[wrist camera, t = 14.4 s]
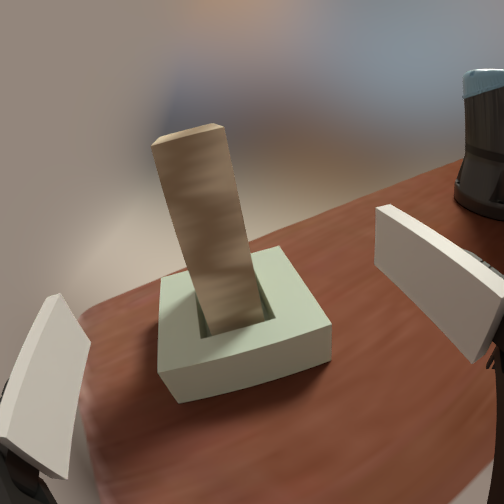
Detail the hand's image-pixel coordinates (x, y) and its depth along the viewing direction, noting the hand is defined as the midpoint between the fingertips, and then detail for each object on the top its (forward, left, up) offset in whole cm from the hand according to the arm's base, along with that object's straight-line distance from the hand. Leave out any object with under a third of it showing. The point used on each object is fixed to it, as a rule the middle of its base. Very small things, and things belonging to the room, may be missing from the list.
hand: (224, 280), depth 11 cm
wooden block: (0, -10, -11) cm, 15 cm away
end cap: (0, -10, -12) cm, 16 cm away
